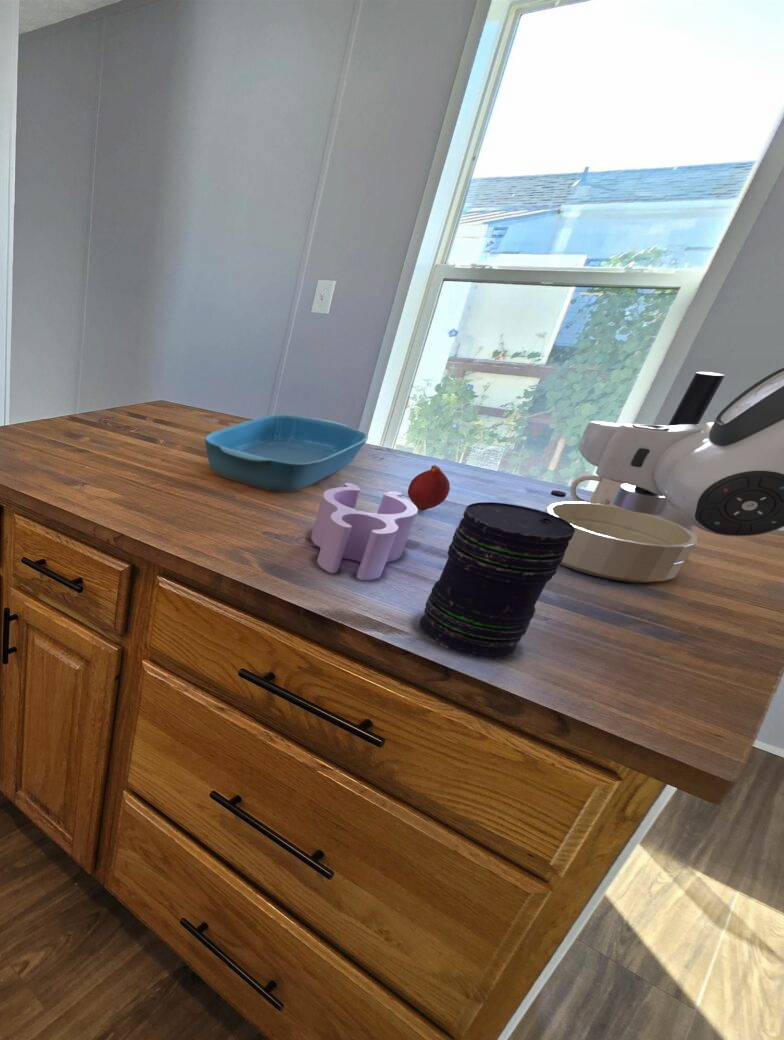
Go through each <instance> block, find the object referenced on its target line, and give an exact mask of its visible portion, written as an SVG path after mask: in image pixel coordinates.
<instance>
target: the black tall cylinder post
mask: <svg viewBox="0 0 784 1040" xmlns="http://www.w3.org/2000/svg"><path fill="white" fill-rule="evenodd" d="M725 376H726V374H723V373H717V372H712V371H711V372H710V371H696V372H695V374H694V376H693V377H692V379H691V381H690V383H689V384H688V387H687V389H686V390H685V393H684V394H683V396H682V398H681V400H680V402H679V404H678V405H677V408H676V409H675V411H674V413H673V415H672V417H671V419H670V421H669V422H668V425H667V426H670V425H684V424H694V425H696V424H700V422H701V420H702V419H703V417H704V415H705V413H706V412H707V409H708V408H709V406H710V404H711V403H712V400H713V399H714V397H715V395H716V393H717V391H718V389H719V388H720V386H721V385H722V382H723V380H724V379H725ZM612 502H613V504H614V505H616V506H618V507H620V508H623V509H626V510H630V511H634V512H638V513H644V514H653V515H660V514H665V513H666V512H667V510H668V508H669V507H670V503H669V501H668V500H667V499H666V498H665V497H664V496H660V495H657V494H655V493H652V492H650V491H648V490H645V489H643V488H640V487H637V486H633V485H629V484H622V485H621V486H620V487H619V489H618V491H617V493H616V495H615V497H614V499H613V501H612Z"/></svg>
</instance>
